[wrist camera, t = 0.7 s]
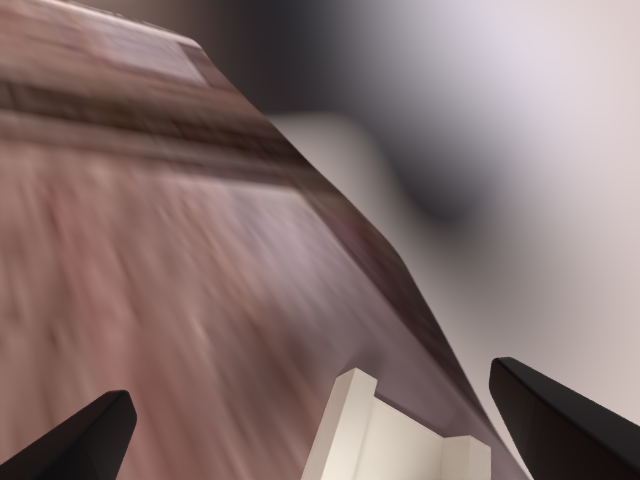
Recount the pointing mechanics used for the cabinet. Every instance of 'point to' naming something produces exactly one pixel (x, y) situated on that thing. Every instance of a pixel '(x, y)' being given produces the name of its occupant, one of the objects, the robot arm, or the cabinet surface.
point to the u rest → (386, 441)
